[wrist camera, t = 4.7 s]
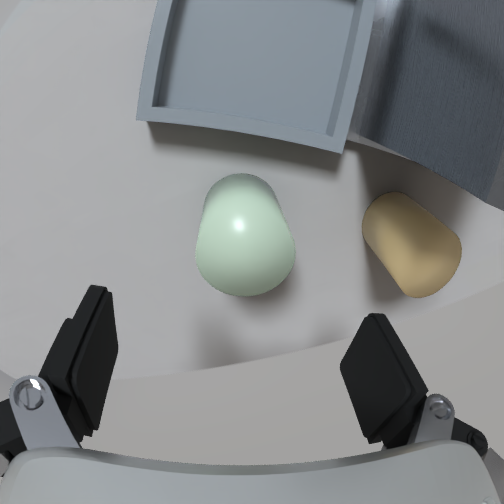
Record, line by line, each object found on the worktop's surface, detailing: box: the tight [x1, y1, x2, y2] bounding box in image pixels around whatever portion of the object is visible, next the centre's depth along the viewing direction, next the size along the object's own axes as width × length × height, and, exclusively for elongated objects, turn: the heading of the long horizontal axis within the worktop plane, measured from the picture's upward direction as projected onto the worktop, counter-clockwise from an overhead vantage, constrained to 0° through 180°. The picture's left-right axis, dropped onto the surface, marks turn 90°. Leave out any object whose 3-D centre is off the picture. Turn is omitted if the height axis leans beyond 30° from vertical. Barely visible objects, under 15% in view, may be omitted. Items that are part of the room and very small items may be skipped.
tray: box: [136, 0, 377, 154], centre depth 14 cm, size 12×12×2 cm
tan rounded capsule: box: [362, 192, 462, 298], centre depth 19 cm, size 5×5×6 cm
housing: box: [346, 0, 504, 211], centre depth 10 cm, size 8×14×12 cm, turn 169°
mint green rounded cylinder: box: [195, 174, 296, 297], centre depth 17 cm, size 5×5×6 cm
